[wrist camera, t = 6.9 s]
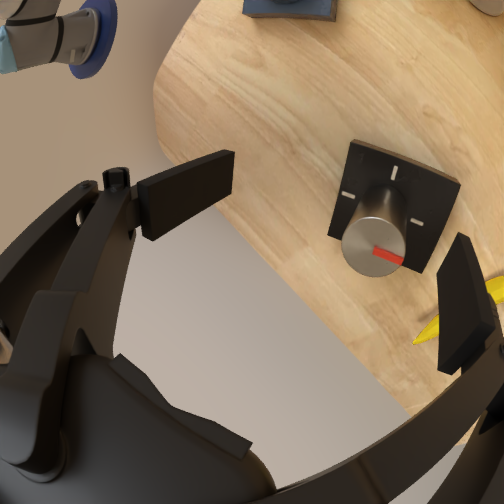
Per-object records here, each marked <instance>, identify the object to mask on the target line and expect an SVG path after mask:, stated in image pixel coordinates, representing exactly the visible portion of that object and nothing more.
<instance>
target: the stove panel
mask: <svg viewBox="0 0 504 504" xmlns="http://www.w3.org/2000/svg"><path fill="white" fill-rule="evenodd" d="M375 185H388V186H391V187H393V188H395V189H396V190H398V191H399V192H400V193H401V195H402V196H403V198H404V200H405V202H406V207H407V220H406V249H405V256H404V260H403V262H402V264H401V265H402V266H404V267H407V268H409V269H411V270H414V271H416V272H418V273H421V274H422V272H423V271H424V269H425V267H426V265H427V263H428V261H429V259H430V257H431V255H432V253H433V251H434V249H435V247H436V245H437V242H438V240H439V238H440V236H441V234H442V231H443V229H444V227H445V225H446V222H447V220H448V218H449V215H450V213H451V210H452V208H453V205H454V203H455V200H456V197H457V195H458V192H459V189H460V186H461V185H460V183H459V182H458V180H457V179H456V178H454V177H452V176H449V175H447V174H445V173H443V172H441V171H439V170H436V169H434V168H432V167H429V166H427V165H425V164H422V163H420V162H418V161H415V160H413V159H410V158H408V157H405V156H402V155H400V154H397V153H394V152H392V151H389V150H386V149H383V148H380V147H377V146H374V145H371V144H368V143H365V142H362V141H359V140H356V139H354V140H353V141H351V142H350V146H349V151H348V156H347V160H346V164H345V169H344V173H343V177H342V181H341V185H340V189H339V193H338V197H337V201H336V205H335V209H334V212H333V216H332V220H331V223H330V227H329V230H328V234H327V235H328V236H331V237H333V238H336V239H338V240H341V241H342V237H343V234H344V232H345V230H346V228H347V226H348V224H349V222H350V220H351V218H352V216H353V214H354V212H355V210H356V208H357V206H358V204H359V202H360V200H361V198H362V196H363V194H364V193H365V192H366V191H367V190H368V189H369V188H371V187H372V186H375Z"/></svg>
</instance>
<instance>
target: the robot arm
mask: <svg viewBox="0 0 504 504" xmlns="http://www.w3.org/2000/svg"><path fill="white" fill-rule="evenodd" d="M60 1H61V0H0V18H1V19H7V21H6V24H5V25H3V26H1V27H0V73H1V74H6V73H10V72H17V71H19V70H22V69H26V68H30V67H34V66H38V65H42V64H47V63H52V62H59V63H65V64H70V65H82V64H85V63H86V62H88V61H89V59H90V58H91V57H92V55H93V53H94V51H95V49H96V47H97V44H98V41H99V38H100V33H101V15H100V12H99V10H98V9H96V8H85V9H81V10H78V11H76V12H73V13H70V14H67V15H64V16H58V17H55V15H56V13H57V9H58V7H59V4H60ZM234 157H235V152H233V151H229V150H225V149H224V150H221V151H218V152H215V153H212V154H209V155H206V156H203V157H200V158H197V159H195V160H192V161H189V162H186V163H184V164H181V165H178V166H176V167H173V168H171V169H168V170H165V171H163V172H161V173H158V174H155V175H153V176H151V177H149V178H146V179H144V180H141V181H139V182H137V184H136V185H134V186H132V187H130V175H129V169H128V168H126V167H116V168H111V169H109V170H106V171H104V172H103V173H102V174H103V182H104V191H99V190H98V184H97V182H96V181H92V180H91V181H89V180H86V181H83V182H81V183H79V184H77V185H76V186H75V187H74V188H72V189H71V190H70V191H68V192H67V193H66V194H65V195H63V196H62V197H61V198H60V199H58V200H57V201H56V202H55V203H54V204H53V205H51V206H50V207H49V208H48V209H47V210H46V211H45V212H43V214H41V215H40V216H39V217H38V218H37V219H36V220H35V221H34V222H32V223H31V224H30V225H29V226H28V227H27V228H26V229H25V230H24V231H23V232H22V233H21V234H20V235H19V236H18V237H17V238H16V239H15V240H14V241H13V242H12V243H11V244H10V245H9V247H7V249H5V251H4V252H3V253H2V254H1V255H0V504H388V503H389V502H390V501H392V500H393V499H394V498H396V497H397V496H398V495H400V494H401V493H402V492H404V491H405V490H406V489H407V488H409V487H410V486H411V485H412V484H414V483H415V482H416V481H417V480H418V479H420V478H421V477H422V476H423V475H424V474H425V473H427V472H428V471H429V470H430V469H431V468H432V467H433V466H434V465H435V464H436V463H437V462H438V461H439V460H441V459H442V458H443V457H444V456H445V455H446V454H447V453H448V452H449V451H450V450H451V449H452V448H453V446H454V445H455V444H456V443H457V442H458V441H459V440H460V439H461V438H462V437H463V436H464V434H465V433H466V432H467V431H468V430H469V429H470V428H471V426H472V425H473V424H474V423H475V422H476V420H477V419H478V418H479V417H480V418H479V420H478V422H477V424H476V426H475V428H474V430H473V432H472V434H471V436H470V438H469V440H468V442H467V444H466V446H465V448H464V450H463V451H462V453H461V455H460V456H459V458H458V460H457V461H456V463H455V465H454V466H453V468H452V470H451V471H450V473H449V474H448V476H447V477H446V479H445V480H444V482H443V483H442V484H441V486H440V487H439V489H438V490H437V491H436V493H435V494H434V495H433V497H432V498H431V499H430V501H429V502H428V503H427V504H504V337H503V334H502V329H501V324H500V320H499V315H498V312H497V307H496V303H495V301H494V299H493V298H492V296H491V294H490V293H488V291H487V288H486V284H485V281H484V278H483V274H482V271H481V268H480V265H479V262H478V259H477V256H476V254H475V251H474V248H473V246H472V243H471V240H470V238H469V237H468V236H466V235H464V234H462V233H460V232H458V233H457V235H456V237H455V239H454V241H453V243H452V245H451V247H450V249H449V251H448V253H447V255H446V257H445V259H444V261H443V263H442V265H441V266H440V268H439V270H438V272H437V287H438V305H439V350H438V368H437V370H438V371H441V372H444V373H446V374H449V375H453V374H454V373H455V372H456V371H457V370H458V369H459V368H460V367H461V376H460V377H458V378H457V379H456V380H455V381H454V382H453V383H452V384H451V385H450V386H448V387H447V388H446V389H445V390H444V391H443V392H442V393H441V394H440V395H439V396H438V397H436V398H435V399H434V400H433V401H432V402H430V403H429V404H428V405H427V406H426V407H424V408H423V409H422V410H421V411H419V412H418V413H417V414H415V415H414V416H413V417H411V418H410V419H409V420H407V421H406V422H405V423H403V424H402V425H401V426H399V427H398V428H396V429H395V430H393V431H392V432H390V433H389V434H387V435H386V436H385V437H383V438H381V439H380V440H378V441H377V442H375V443H373V444H372V445H370V446H369V447H367V448H365V449H364V450H362V451H360V452H358V453H357V454H355V455H353V456H351V457H350V458H348V459H346V460H344V461H342V462H340V463H338V464H336V465H334V466H332V467H330V468H328V469H326V470H324V471H322V472H320V473H317V474H315V475H313V476H311V477H308V478H306V479H303V480H301V481H298V482H295V483H293V484H290V485H288V486H285V487H283V488H280V489H276V486H275V483H274V480H273V478H272V476H271V474H270V472H269V471H268V469H267V468H266V466H265V465H264V463H263V462H262V461H261V460H260V459H259V458H258V457H257V456H256V455H255V454H254V453H253V452H252V451H251V450H250V447H251V445H252V442H251V441H249V440H247V439H245V438H243V437H241V436H239V435H237V434H236V433H234V432H232V431H230V430H228V429H226V428H225V427H223V426H221V425H220V424H218V423H216V422H215V421H212V420H208V419H205V418H202V417H199V416H196V415H194V414H191V413H188V412H185V411H183V410H180V409H178V408H175V407H173V406H171V405H170V404H169V403H168V402H167V401H166V399H165V398H164V397H163V396H162V394H161V393H160V392H159V391H158V389H157V388H156V387H155V385H154V384H153V383H152V382H151V380H150V379H149V378H148V376H147V375H146V374H145V373H144V372H142V371H141V370H140V369H139V368H137V367H136V366H135V365H134V364H132V363H131V362H130V361H129V360H128V359H126V358H125V357H124V356H123V355H122V354H121V353H120V354H119V355H117V356H116V357H115V358H114V357H113V341H114V335H115V329H116V323H117V317H118V312H119V306H120V301H121V296H122V292H123V287H124V282H125V278H126V274H127V269H128V265H129V261H130V257H131V253H132V249H133V245H134V242H135V238H136V229H135V228H137V227H138V226H140V225H141V229H142V236H144V237H145V238H147V239H149V240H151V241H155V240H156V239H158V238H159V237H161V236H162V235H164V234H166V233H167V232H169V231H170V230H172V229H174V228H175V227H177V226H178V225H180V224H182V223H183V222H185V221H186V220H188V219H190V218H191V217H193V216H195V215H196V214H198V213H200V212H201V211H203V210H205V209H206V208H208V207H210V206H211V205H213V204H215V203H216V202H218V201H220V200H222V199H223V198H225V197H227V196H228V195H230V194H231V192H232V180H233V168H234ZM78 213H79V217H80V222H81V224H80V225H79V226H78V225H77V222H76V216H77V214H78ZM480 415H481V416H480Z"/></svg>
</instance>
